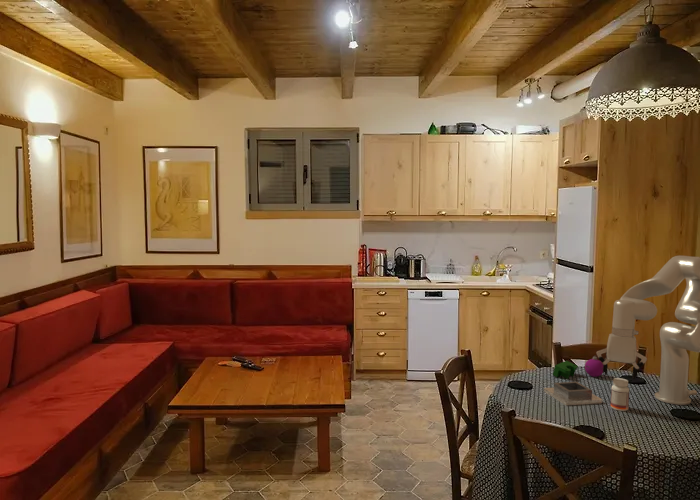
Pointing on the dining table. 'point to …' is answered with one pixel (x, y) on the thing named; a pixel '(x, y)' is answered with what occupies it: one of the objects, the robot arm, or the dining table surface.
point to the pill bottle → (620, 394)
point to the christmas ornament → (594, 367)
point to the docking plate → (572, 394)
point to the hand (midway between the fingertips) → (619, 376)
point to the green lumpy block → (564, 369)
